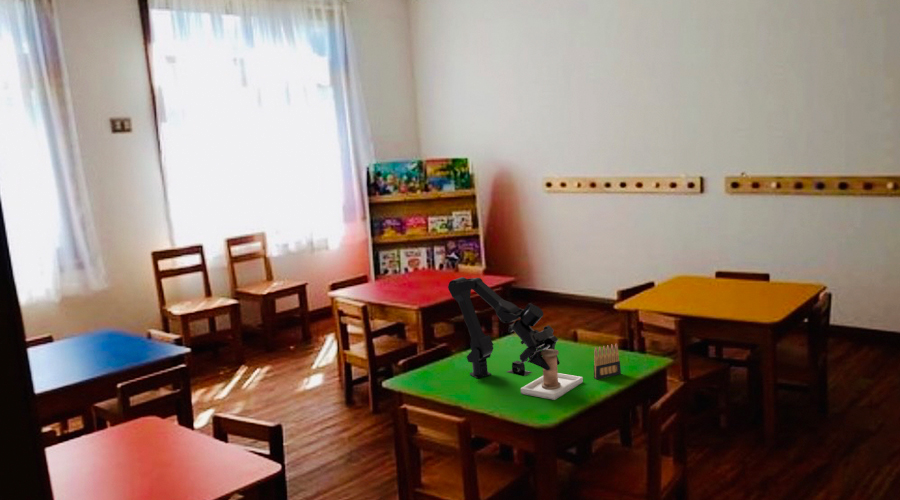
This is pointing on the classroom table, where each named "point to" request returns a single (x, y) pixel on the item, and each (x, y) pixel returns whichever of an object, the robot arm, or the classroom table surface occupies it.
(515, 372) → the black holed block
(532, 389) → the white rectangular tray
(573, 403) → the classroom table surface
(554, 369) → the brown wooden spool
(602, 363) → the ammunition clip
